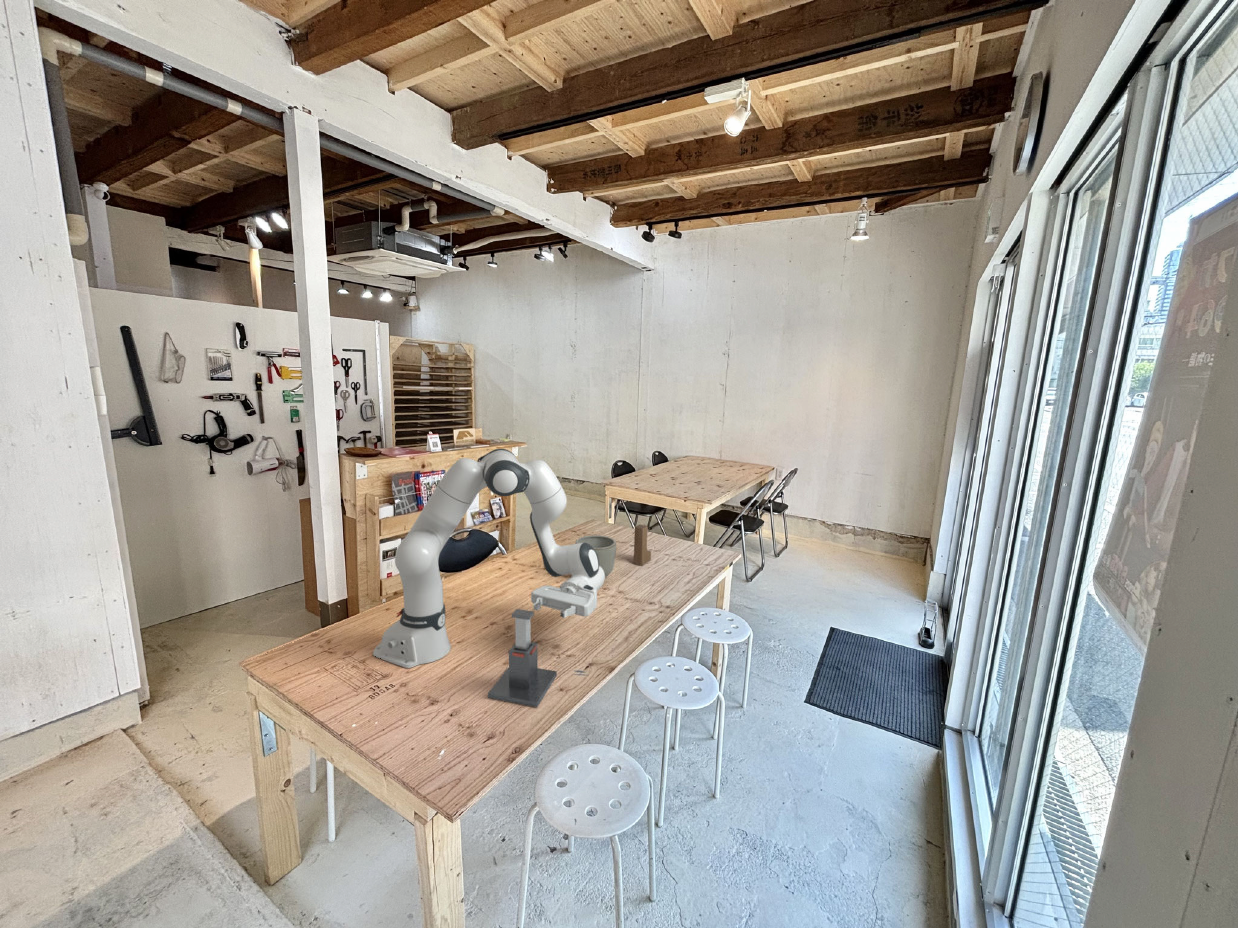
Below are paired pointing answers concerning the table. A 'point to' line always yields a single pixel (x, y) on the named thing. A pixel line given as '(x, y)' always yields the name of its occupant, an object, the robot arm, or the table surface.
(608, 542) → the planter
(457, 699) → the table surface
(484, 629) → the table surface
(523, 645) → the column
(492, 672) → the table surface
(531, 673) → the stand
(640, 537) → the wooden block
